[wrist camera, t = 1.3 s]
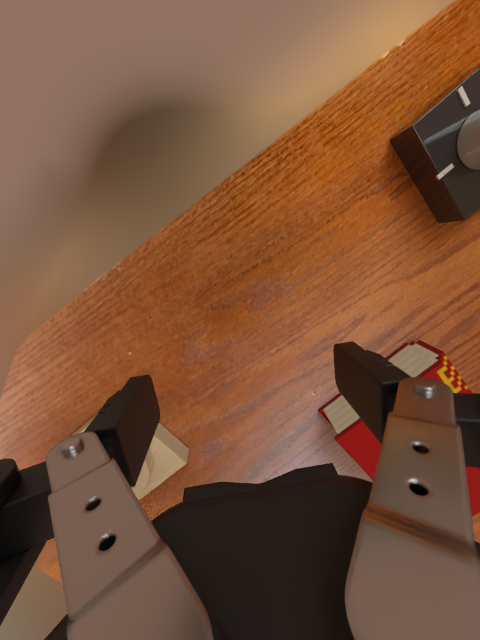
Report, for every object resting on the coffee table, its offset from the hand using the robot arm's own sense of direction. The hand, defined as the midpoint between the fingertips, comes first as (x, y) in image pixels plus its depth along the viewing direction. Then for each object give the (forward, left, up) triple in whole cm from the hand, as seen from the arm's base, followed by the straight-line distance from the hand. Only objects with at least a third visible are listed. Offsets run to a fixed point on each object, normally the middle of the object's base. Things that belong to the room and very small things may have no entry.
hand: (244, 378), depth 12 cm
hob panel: (+2, +24, -16) cm, 29 cm away
